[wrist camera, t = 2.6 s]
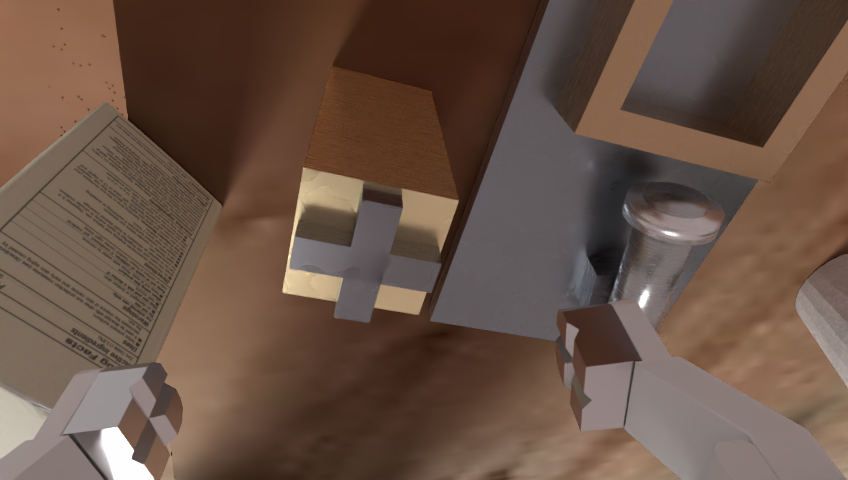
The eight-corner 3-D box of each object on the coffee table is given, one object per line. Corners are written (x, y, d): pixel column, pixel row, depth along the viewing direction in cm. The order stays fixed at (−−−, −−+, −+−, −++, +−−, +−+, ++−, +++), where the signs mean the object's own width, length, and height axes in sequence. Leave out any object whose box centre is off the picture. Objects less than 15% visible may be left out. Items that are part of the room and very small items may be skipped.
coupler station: (631, 341, 30) (658, 390, 27) (428, 307, 27) (434, 357, 24) (1230, -565, 13) (1471, -694, 10) (851, -855, 11) (1024, -1130, 8)
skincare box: (38, 157, 21) (-269, 396, 11) (109, 96, 20) (-163, 301, 10) (164, 259, 25) (13, 518, 14) (232, 211, 23) (119, 455, 13)
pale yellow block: (406, 178, 23) (420, 333, 15) (315, 158, 22) (277, 311, 14) (430, 90, 21) (463, 216, 13) (331, 65, 20) (299, 182, 12)
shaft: (631, 324, 28) (669, 388, 24) (565, 324, 27) (593, 389, 24) (689, 168, 23) (747, 220, 19) (609, 166, 22) (653, 219, 19)
